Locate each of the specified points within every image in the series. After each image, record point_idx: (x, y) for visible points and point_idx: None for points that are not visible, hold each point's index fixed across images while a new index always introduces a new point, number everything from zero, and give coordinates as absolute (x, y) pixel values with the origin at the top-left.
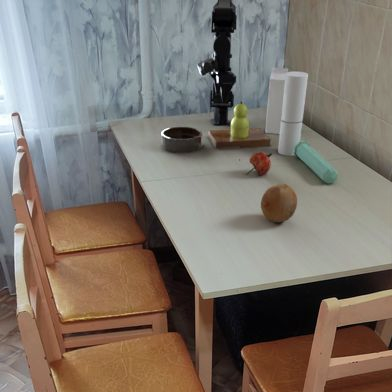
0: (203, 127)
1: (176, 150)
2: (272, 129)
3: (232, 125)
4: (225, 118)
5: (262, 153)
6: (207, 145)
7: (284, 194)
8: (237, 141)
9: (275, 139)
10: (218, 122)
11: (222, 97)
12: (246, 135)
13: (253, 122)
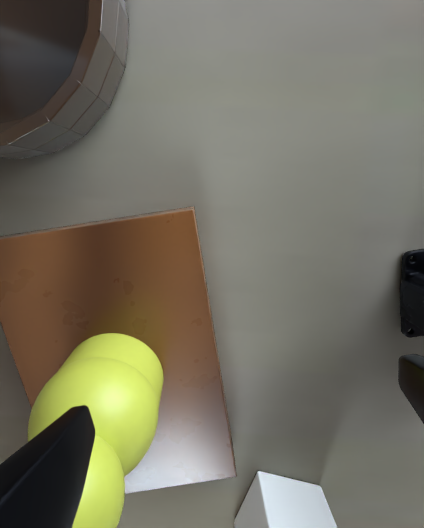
0: (377, 187)
1: None
2: (248, 511)
3: (59, 374)
4: (417, 324)
5: None
6: (59, 194)
7: None
8: (15, 359)
9: (169, 497)
10: (412, 278)
11: (16, 461)
12: None
13: (414, 436)
